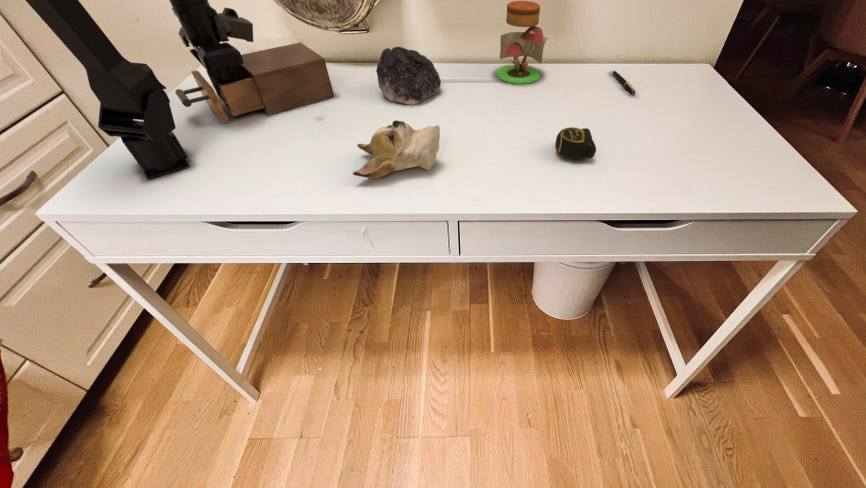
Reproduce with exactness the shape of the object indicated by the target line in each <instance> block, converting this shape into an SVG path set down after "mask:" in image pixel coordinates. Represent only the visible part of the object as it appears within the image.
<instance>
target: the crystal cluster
mask: <svg viewBox="0 0 866 488" xmlns="http://www.w3.org/2000/svg"><path fill="white" fill-rule="evenodd" d="M375 72H376V76H377V83H378V88H379V90H380V91H381V93H382V94H383V95H384V97H385V99H388V100H389V101H390V102H396V103H400V104H405V105H411V106H412V105H418V104H421V102H423V101H424V100H426V99H428V98H431V97H433V96H434V95H436V94H438V93H439V92H441V83H442V81H441V80H442V79H441V78H440V73H439V72H438V71H437V69H436V67H435V65H434V63H433V62H432V61H431V60H430V59H429V58H428V57H427V56H426V55H424V54H421V53H420V52H418V50H415V49H407V48H405V47H402V46H394V47H392V49H391V48H389V47H387V48H384V49H383V50H382V52H381V55H380V57H379V62H378V63H377V65H376V70H375Z"/></svg>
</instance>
